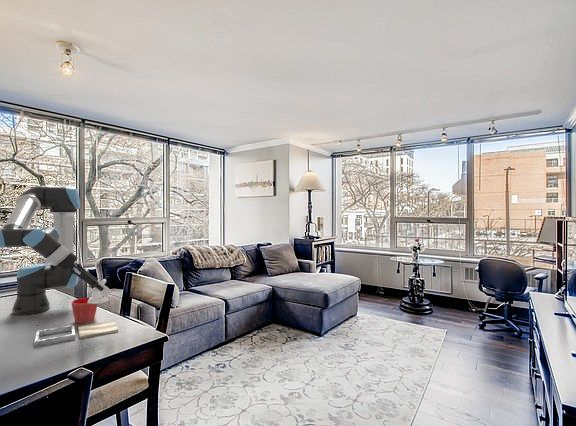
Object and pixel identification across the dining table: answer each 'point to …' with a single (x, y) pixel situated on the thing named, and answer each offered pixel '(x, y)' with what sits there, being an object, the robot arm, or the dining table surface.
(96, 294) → the hook
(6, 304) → the dining table surface
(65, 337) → the steel holder
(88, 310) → the flower pot
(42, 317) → the dining table surface
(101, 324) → the birch pad
